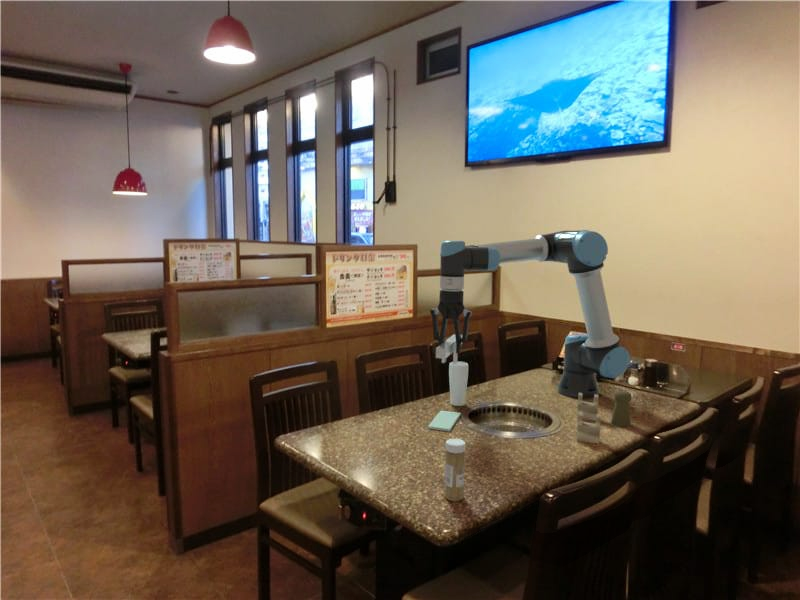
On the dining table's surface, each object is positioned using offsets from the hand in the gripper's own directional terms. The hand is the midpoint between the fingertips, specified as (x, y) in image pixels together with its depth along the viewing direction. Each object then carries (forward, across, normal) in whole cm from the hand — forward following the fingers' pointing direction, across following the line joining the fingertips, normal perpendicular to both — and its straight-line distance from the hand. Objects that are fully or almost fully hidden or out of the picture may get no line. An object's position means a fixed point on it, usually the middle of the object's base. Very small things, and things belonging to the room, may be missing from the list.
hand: (449, 362), depth 171 cm
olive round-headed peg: (+20, +54, +18) cm, 60 cm away
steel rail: (-4, 0, 0) cm, 4 cm away
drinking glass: (+20, -1, +19) cm, 28 cm away
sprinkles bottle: (+20, +13, -48) cm, 54 cm away
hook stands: (+20, +43, +10) cm, 48 cm away
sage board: (+20, -1, 0) cm, 20 cm away
